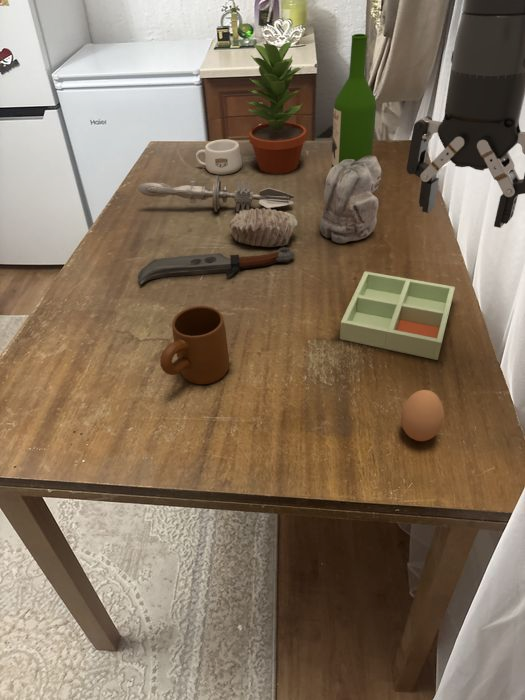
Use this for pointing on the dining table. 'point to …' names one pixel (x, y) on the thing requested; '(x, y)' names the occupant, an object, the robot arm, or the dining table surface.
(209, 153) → the mug
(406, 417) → the egg
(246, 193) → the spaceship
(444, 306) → the egg tray
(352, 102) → the wine bottle
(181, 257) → the knife
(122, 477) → the dining table surface
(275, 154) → the potted plant
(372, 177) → the figurine
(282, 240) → the seashell
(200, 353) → the mug
